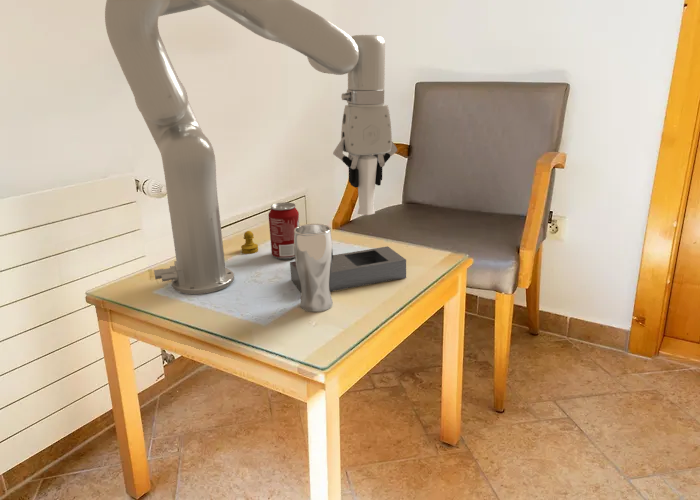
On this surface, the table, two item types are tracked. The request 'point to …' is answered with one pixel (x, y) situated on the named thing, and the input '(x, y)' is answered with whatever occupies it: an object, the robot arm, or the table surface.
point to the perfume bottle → (366, 183)
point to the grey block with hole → (361, 268)
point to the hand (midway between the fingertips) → (365, 184)
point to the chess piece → (249, 244)
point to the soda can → (283, 229)
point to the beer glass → (314, 265)
